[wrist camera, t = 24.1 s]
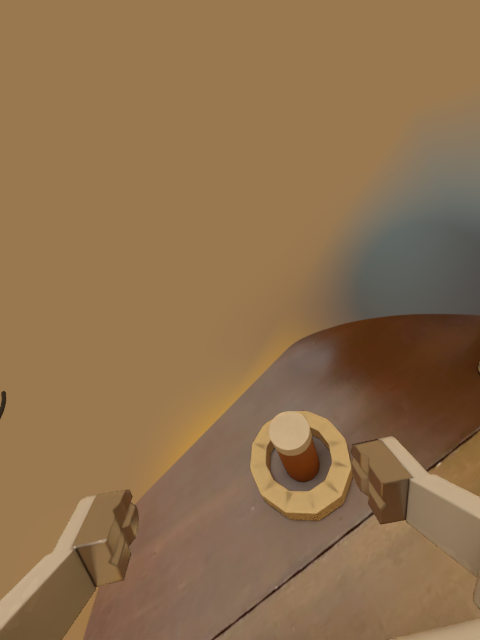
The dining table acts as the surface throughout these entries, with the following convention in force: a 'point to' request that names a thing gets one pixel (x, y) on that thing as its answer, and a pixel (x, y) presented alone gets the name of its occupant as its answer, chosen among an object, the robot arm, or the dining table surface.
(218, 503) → the dining table surface
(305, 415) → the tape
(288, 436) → the amber bottle
